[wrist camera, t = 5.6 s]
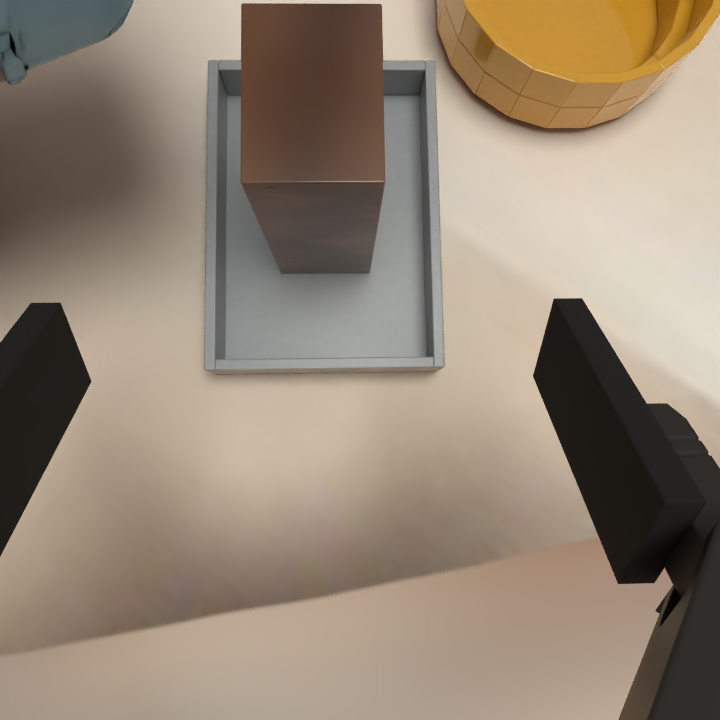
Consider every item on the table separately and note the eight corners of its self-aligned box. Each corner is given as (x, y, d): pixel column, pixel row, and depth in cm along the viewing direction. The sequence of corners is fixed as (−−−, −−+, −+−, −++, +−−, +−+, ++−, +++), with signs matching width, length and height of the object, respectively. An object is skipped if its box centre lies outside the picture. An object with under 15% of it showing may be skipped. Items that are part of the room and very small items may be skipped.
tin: (215, 374, 28) (203, 370, 25) (218, 89, 29) (207, 59, 27) (436, 371, 28) (444, 366, 26) (427, 88, 30) (435, 60, 27)
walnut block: (281, 274, 28) (239, 183, 17) (280, 160, 29) (241, 2, 18) (370, 273, 28) (385, 182, 17) (368, 159, 29) (381, 3, 18)
